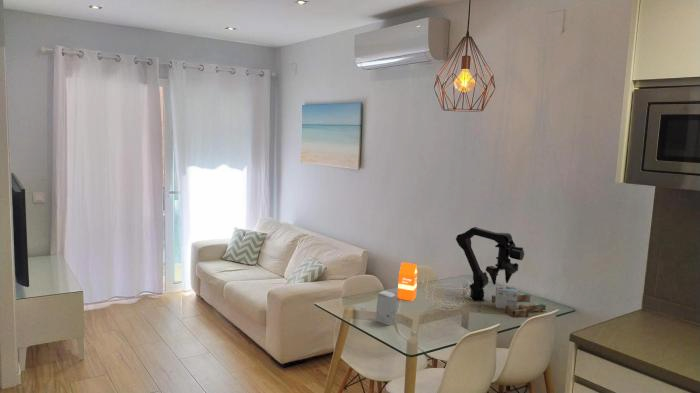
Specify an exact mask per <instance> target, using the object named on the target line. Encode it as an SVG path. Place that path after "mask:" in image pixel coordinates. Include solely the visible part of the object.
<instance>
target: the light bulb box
mask: <svg viewBox="0 0 700 393" xmlns="http://www.w3.org/2000/svg"><path fill="white" fill-rule="evenodd" d="M518 293H519V292H518V289H517V288H516V287H515V286H501V285H500V286H499V285H496V287H495V295H496V297H495V302H494V306H495V307H496V308H497V309H504V310H505V306H510V307H511V308H513V309H514V310H517V306H518V304H517V303H518V302H517V295H519V294H518Z"/></svg>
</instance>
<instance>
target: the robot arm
mask: <svg viewBox="0 0 700 393" xmlns="http://www.w3.org/2000/svg"><path fill="white" fill-rule="evenodd" d="M474 236H477V237H481V238H484V239H489V240H492V241H494V242H495V243H497V244H496V245H494V247H495V248H498V251H497V256H496V257H495V259H496V260H497V261H496V264H495V266H493V265H487V266H486V267H485V272H483V270H482V269H481V268H480V265H479V263H478V260H477V257H476V255H475V253H474V250H473V248H472V240H471V239H472V238H474ZM455 241H456V243H457V245H458V246H459V247H460V248H461V249H462V250H463V252H464V255H465V257H466V259H467V262H468V264H469V268H470V269H471V272H472V280H473V283H471V284H469V289H470V295H469V296H470V297H471V298H472V299H473V300H474V301H477V302H478V301H479V302H480V301H485V299H484V297H485V291H484V288H486V286H488V284H489V276H490V279H491V282H492V283H493V285H494V286H495V285H496V284H497V277H498V276H499V271H504V276H505V277H504V278H505V280H504V281H505V283H506V284H508V283H509V281H510V279H511V278H512V276H513V274H516V273H517V272H518V271H519V263H517V262H515V263H512V262H511V259H513V260H517V261H522V260H524V257H525V251H524V247H521V246H520V247H519V246H516V244H515V242H514V240H513V236H512V234H510V233H508V232H494V231H491V230H487V229H483V228H479V227H477V226H474V227H471V228H469V229H468V230H467V231H465V232H463V233H460V234H457V235H456V237H455ZM488 274H489V276H488ZM470 297H469V298H470ZM471 298H470V299H471ZM472 299H471V300H472ZM473 300H472V301H473Z"/></svg>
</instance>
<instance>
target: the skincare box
mask: <svg viewBox="0 0 700 393" xmlns="http://www.w3.org/2000/svg"><path fill="white" fill-rule="evenodd" d="M377 295H378V296H377V302H376V312H375V322H377V323H381V324H384V325H386V326H390V325H393V324H395V323H396V314H397V307H398V306H397V305H398V304H397V303H398V294H397V293H393V292H390V291H388V290H386V289H385V290H381V291H380V292H378V293H377Z"/></svg>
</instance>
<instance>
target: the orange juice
mask: <svg viewBox="0 0 700 393" xmlns="http://www.w3.org/2000/svg"><path fill="white" fill-rule="evenodd" d="M397 282H398V283H397V284H398V286H397V295H398V297H397V299H400V300H405V301H412V302H414V300H415V298H416V297H417V288H418V286H417V284H418V264H415V263H410V262H409V263H408V262H401V265H400V268H399V273H398V281H397Z"/></svg>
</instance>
